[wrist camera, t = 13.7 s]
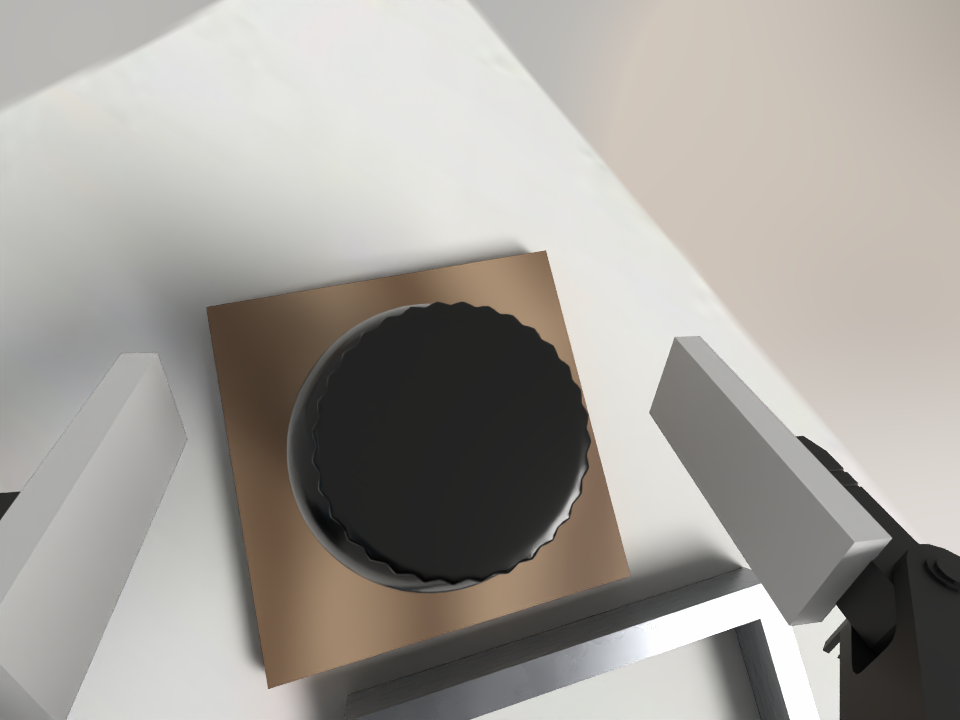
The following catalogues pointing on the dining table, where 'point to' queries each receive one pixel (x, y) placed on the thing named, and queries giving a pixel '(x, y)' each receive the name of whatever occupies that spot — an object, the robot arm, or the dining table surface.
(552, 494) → the supplement bottle
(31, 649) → the robot arm
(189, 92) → the dining table surface
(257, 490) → the walnut board
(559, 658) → the metal rim
